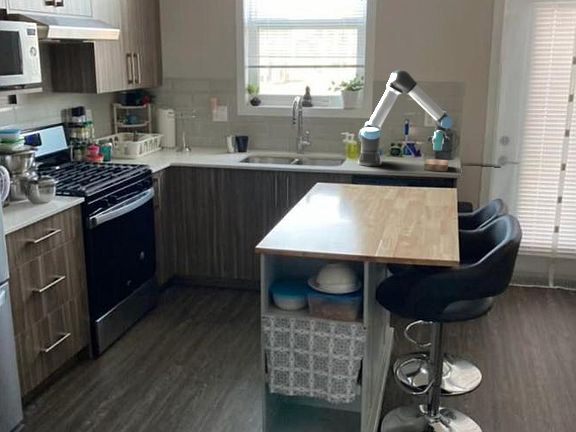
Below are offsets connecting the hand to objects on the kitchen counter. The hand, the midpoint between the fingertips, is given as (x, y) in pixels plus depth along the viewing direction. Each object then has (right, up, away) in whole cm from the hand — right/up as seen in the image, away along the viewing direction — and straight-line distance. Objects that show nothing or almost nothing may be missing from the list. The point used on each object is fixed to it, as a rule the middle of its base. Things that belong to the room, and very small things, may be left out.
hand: (437, 141), depth 396 cm
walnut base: (+1, -16, +9) cm, 19 cm away
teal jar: (+1, -5, +6) cm, 8 cm away
